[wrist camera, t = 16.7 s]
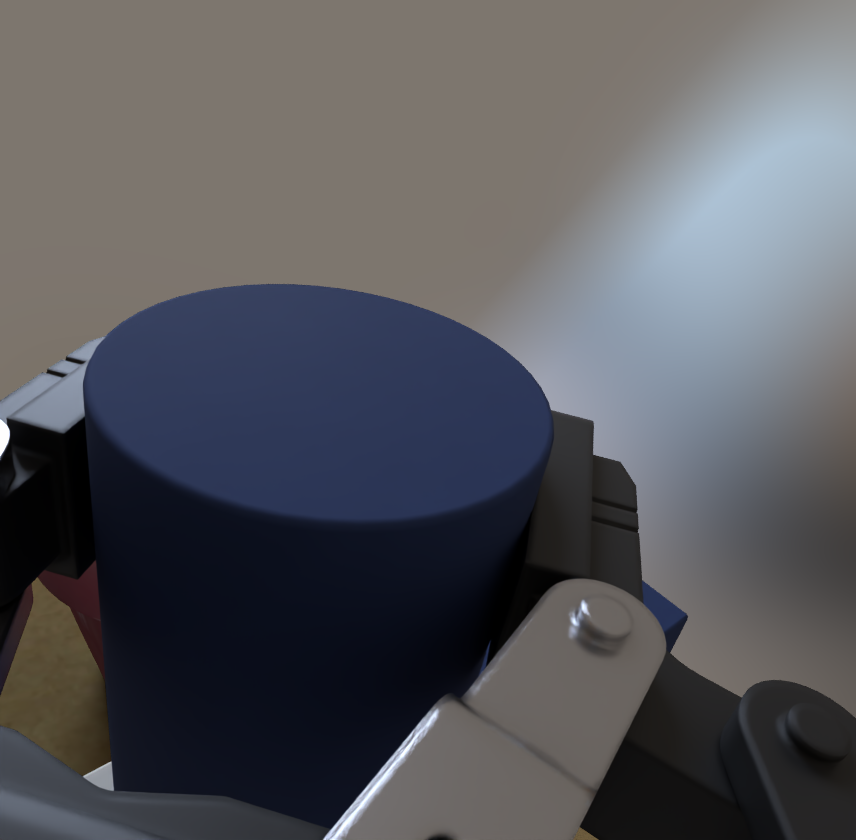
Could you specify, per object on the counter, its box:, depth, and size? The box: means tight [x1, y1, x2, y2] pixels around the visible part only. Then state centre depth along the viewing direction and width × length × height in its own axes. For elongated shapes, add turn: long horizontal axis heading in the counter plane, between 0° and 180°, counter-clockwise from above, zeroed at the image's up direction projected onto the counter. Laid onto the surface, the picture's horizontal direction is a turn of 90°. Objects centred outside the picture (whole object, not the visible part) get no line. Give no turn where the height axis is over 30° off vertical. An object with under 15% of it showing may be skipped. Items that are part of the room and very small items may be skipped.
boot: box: [83, 284, 688, 831], centre depth 13 cm, size 12×5×11 cm, turn 131°
